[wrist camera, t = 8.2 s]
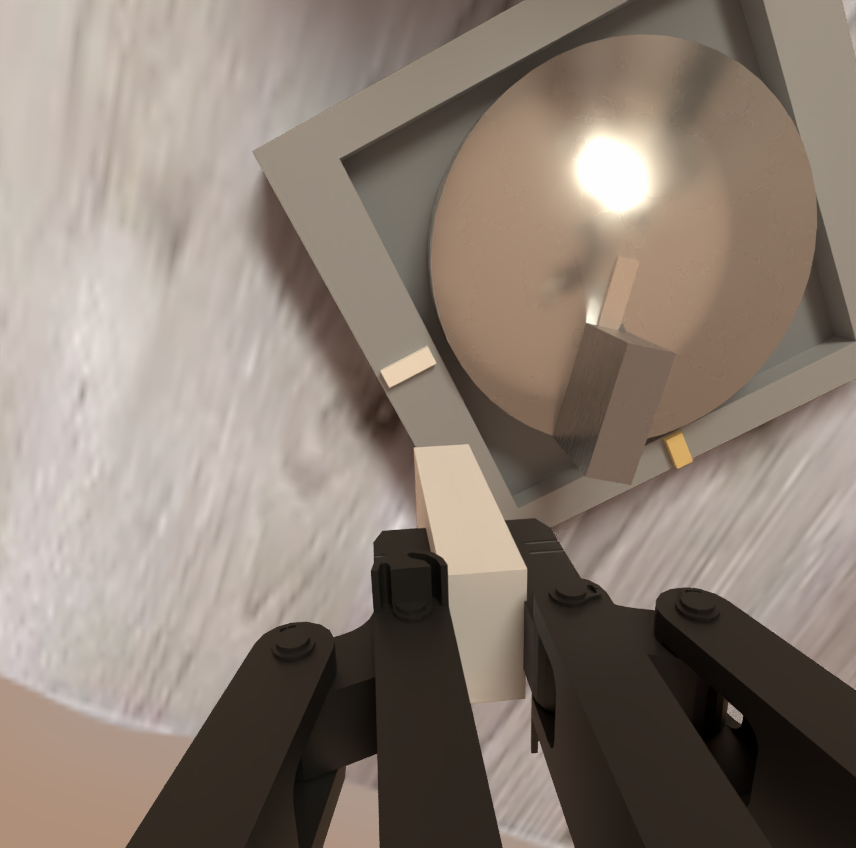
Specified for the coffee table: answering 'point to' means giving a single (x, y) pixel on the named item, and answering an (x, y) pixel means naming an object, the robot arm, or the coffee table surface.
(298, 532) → the coffee table surface
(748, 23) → the board
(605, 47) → the dial
